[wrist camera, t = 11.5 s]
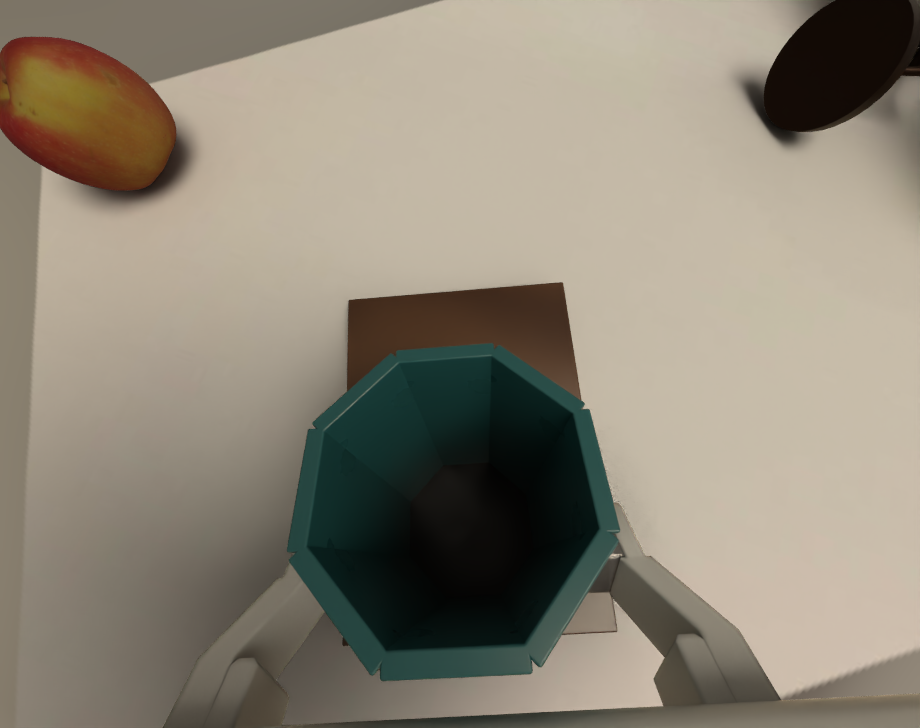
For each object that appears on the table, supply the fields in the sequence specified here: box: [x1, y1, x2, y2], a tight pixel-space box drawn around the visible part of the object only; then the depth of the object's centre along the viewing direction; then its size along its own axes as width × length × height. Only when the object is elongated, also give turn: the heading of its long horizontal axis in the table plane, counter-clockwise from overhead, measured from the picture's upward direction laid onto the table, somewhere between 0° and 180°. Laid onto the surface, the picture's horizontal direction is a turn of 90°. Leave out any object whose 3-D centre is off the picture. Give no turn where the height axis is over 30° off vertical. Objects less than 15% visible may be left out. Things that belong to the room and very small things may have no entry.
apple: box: [0, 37, 176, 191], centre depth 22 cm, size 8×8×8 cm
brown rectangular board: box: [342, 282, 617, 646], centre depth 18 cm, size 18×13×3 cm
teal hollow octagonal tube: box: [287, 343, 620, 681], centre depth 12 cm, size 6×6×11 cm
